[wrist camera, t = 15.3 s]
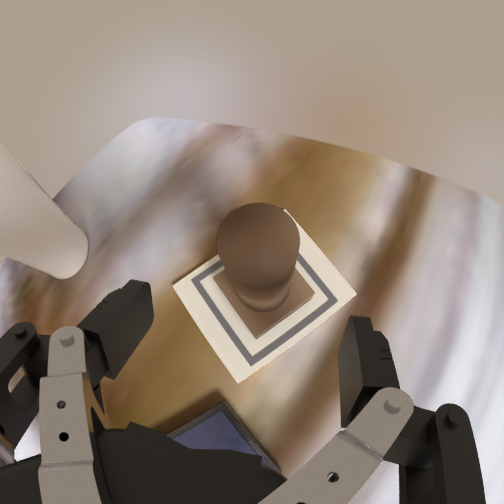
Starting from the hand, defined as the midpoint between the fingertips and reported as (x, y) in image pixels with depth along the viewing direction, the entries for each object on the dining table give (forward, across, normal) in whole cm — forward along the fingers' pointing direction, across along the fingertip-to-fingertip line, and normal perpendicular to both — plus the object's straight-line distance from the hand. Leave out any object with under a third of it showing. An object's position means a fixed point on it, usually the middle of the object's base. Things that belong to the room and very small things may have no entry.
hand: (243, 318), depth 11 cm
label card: (+10, 0, +5) cm, 11 cm away
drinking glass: (+10, +19, +5) cm, 22 cm away
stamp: (+10, 0, +5) cm, 11 cm away
